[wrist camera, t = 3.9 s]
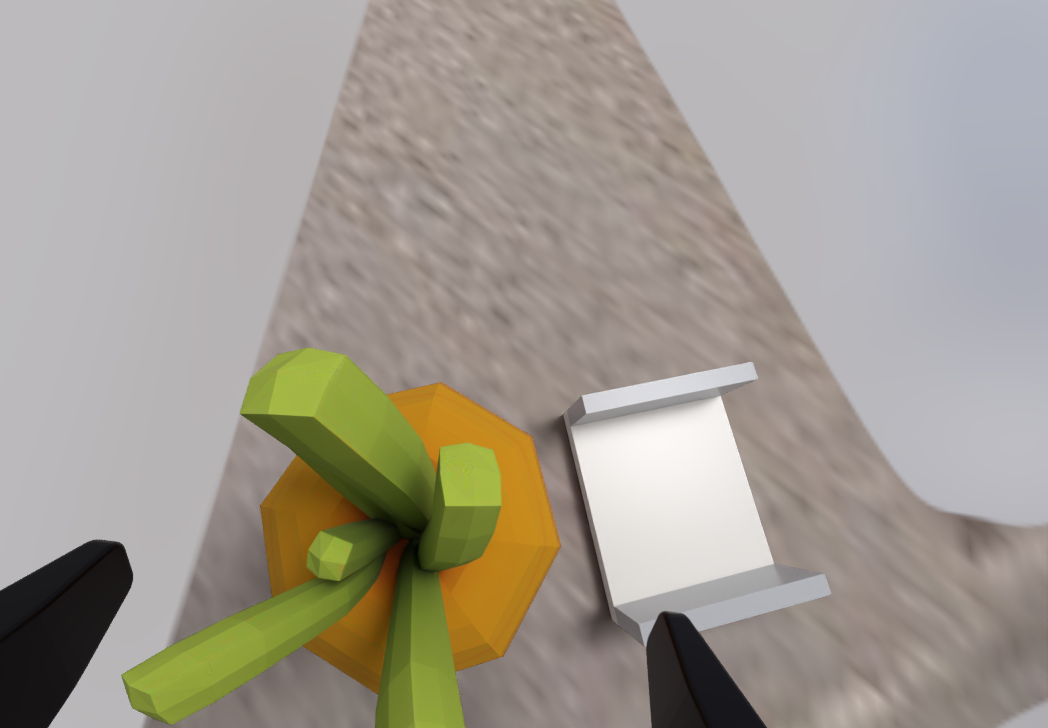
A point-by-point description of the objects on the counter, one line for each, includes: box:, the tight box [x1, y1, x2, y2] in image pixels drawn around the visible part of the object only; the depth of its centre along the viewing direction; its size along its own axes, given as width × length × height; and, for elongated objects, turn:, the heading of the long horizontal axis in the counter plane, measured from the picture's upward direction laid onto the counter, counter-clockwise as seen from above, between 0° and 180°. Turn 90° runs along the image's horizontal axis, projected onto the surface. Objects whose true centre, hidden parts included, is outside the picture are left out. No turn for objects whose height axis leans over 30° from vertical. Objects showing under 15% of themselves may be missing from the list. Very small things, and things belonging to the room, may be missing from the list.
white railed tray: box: [563, 362, 831, 647], centre depth 17 cm, size 7×6×4 cm
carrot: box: [121, 348, 561, 728], centre depth 11 cm, size 5×5×15 cm
